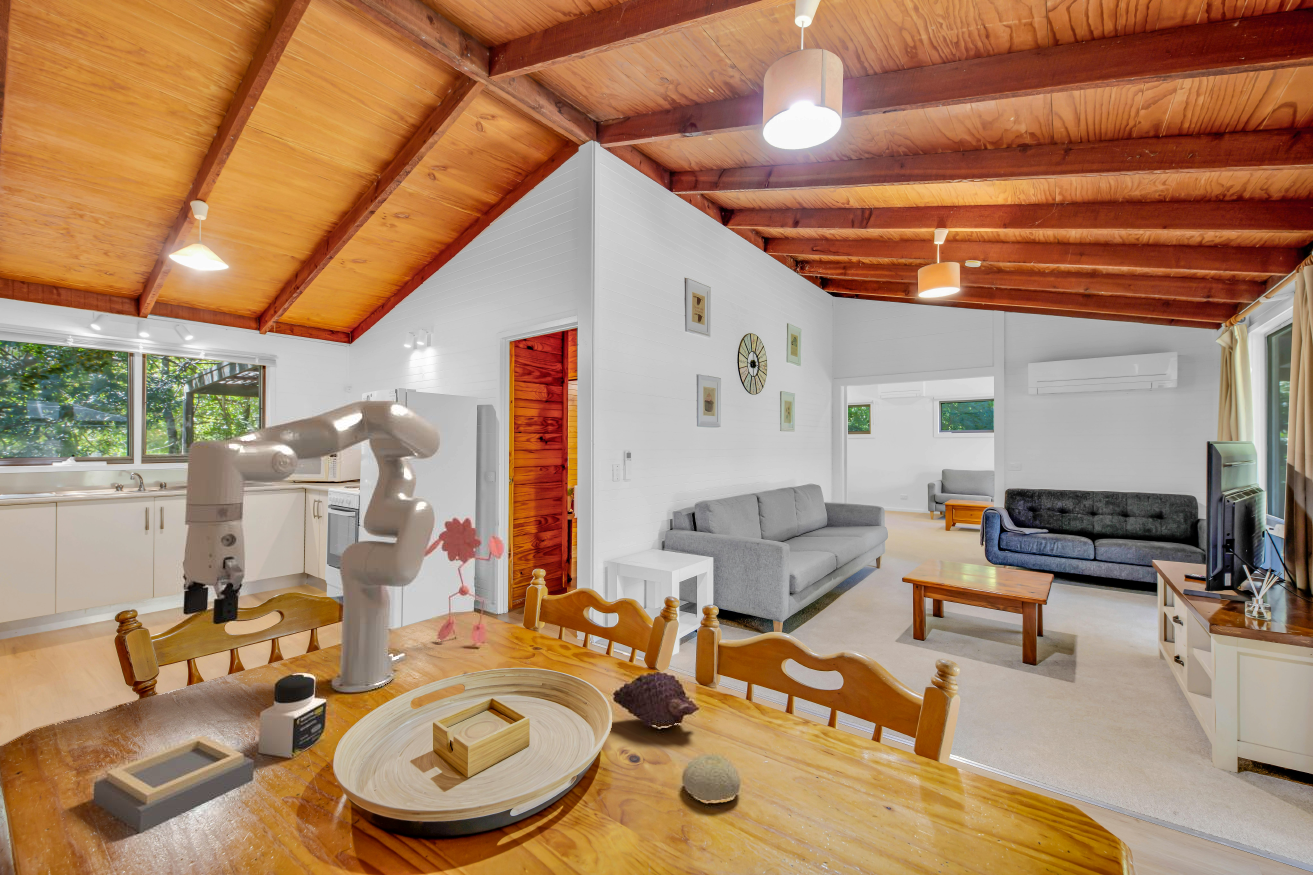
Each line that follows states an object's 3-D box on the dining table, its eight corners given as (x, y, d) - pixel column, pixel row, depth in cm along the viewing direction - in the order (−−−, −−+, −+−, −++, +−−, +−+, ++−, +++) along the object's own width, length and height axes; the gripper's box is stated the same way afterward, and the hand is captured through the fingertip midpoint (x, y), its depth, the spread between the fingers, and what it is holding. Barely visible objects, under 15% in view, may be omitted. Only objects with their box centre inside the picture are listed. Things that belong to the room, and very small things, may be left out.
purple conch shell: (604, 729, 106) (606, 677, 106) (622, 707, 116) (623, 659, 116) (694, 745, 101) (696, 689, 102) (705, 720, 111) (706, 670, 111)
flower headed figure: (433, 633, 159) (436, 512, 160) (512, 644, 152) (515, 517, 152) (393, 652, 145) (397, 518, 145) (479, 665, 137) (482, 524, 138)
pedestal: (205, 756, 93) (206, 731, 94) (253, 779, 87) (254, 752, 87) (93, 802, 81) (94, 772, 81) (139, 832, 75) (141, 801, 75)
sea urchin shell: (746, 766, 91) (740, 748, 86) (739, 821, 86) (732, 806, 81) (692, 755, 94) (684, 737, 89) (682, 807, 89) (673, 792, 84)
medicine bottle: (292, 759, 93) (295, 687, 94) (257, 753, 95) (260, 682, 95) (325, 738, 100) (328, 671, 101) (292, 733, 102) (295, 667, 102)
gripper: (267, 515, 92) (263, 619, 91) (214, 508, 100) (210, 604, 99) (215, 520, 85) (209, 632, 85) (162, 512, 93) (157, 614, 93)
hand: (209, 616), depth 92 cm, fingers open, 9 cm apart
